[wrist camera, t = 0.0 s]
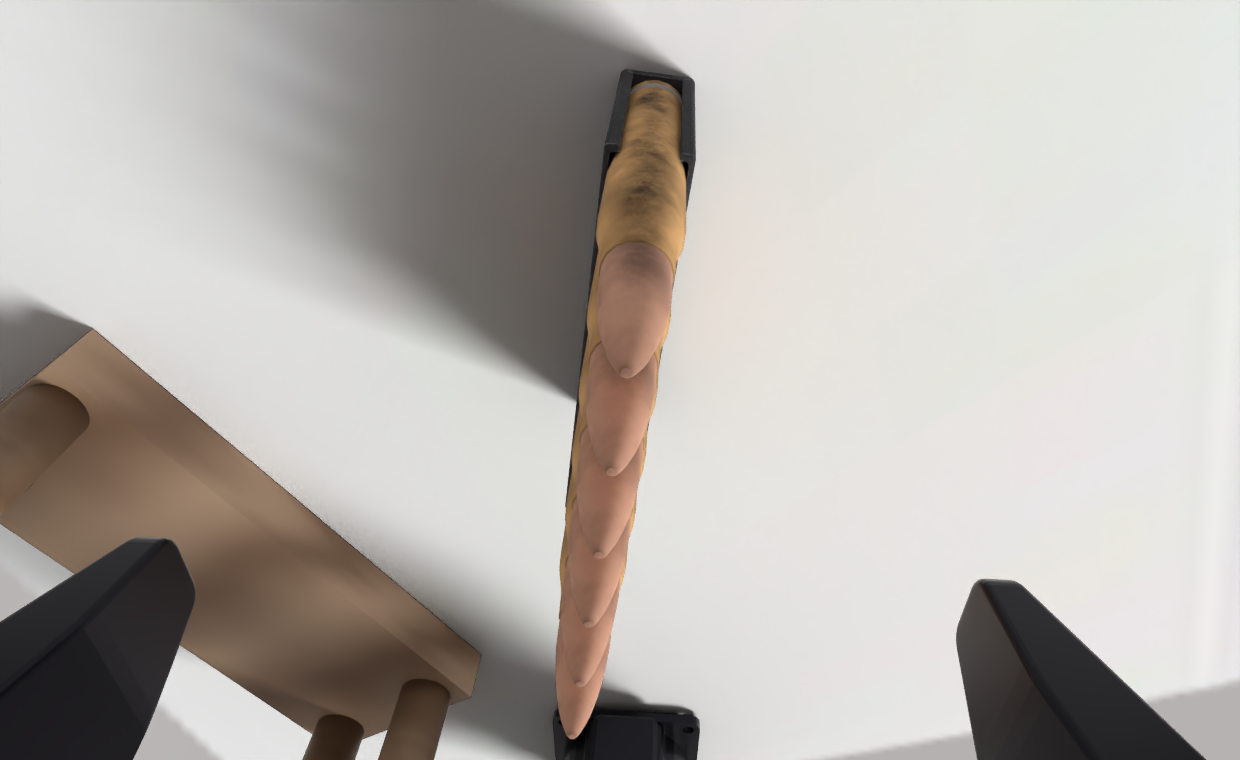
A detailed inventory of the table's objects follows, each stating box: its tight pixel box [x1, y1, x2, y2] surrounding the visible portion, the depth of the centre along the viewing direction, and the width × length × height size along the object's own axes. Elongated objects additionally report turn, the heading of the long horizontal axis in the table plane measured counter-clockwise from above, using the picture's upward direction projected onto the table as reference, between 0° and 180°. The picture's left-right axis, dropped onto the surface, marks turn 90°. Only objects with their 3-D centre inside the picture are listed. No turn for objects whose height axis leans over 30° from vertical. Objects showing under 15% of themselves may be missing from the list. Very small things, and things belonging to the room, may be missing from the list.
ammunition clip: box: [555, 69, 696, 739], centre depth 18 cm, size 11×2×12 cm, turn 173°
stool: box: [0, 329, 481, 760], centre depth 27 cm, size 20×8×10 cm, turn 35°
